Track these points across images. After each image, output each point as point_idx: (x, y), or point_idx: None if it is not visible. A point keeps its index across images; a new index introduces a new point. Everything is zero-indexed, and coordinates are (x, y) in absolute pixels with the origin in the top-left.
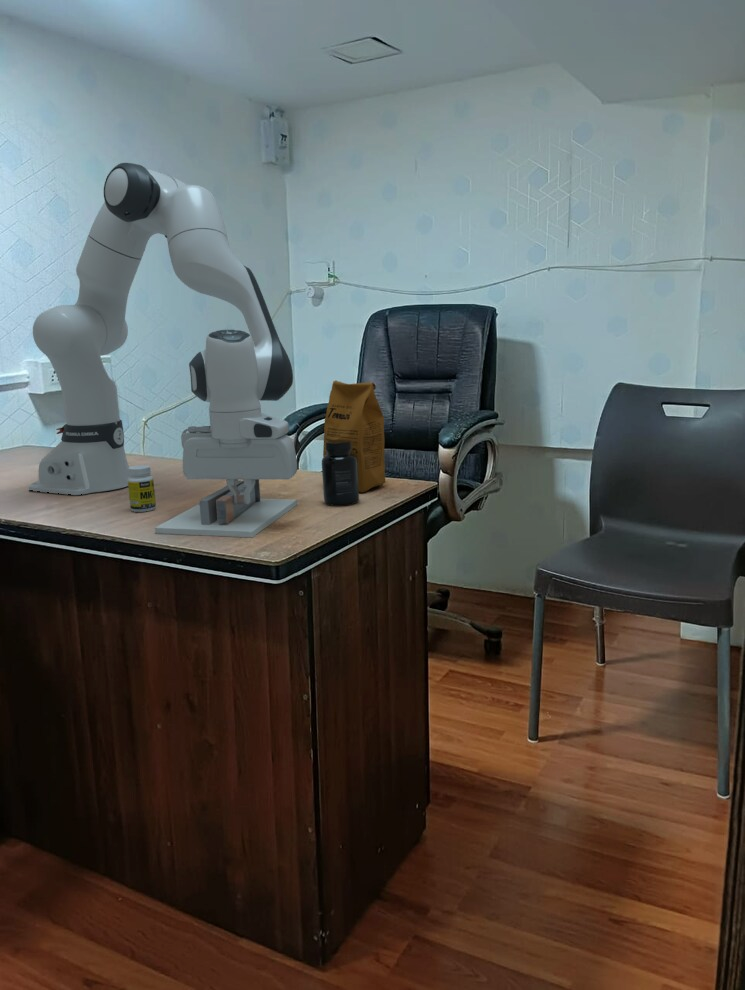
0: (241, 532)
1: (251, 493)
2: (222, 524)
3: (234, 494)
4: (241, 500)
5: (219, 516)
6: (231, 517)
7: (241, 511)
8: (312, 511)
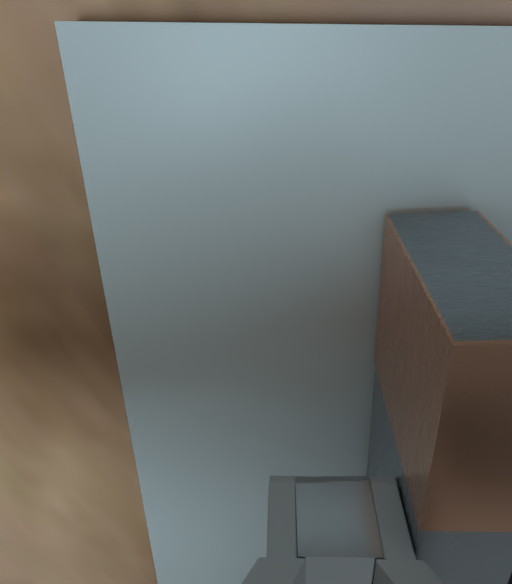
0: (170, 24)
1: None
2: None
3: (406, 560)
4: (324, 498)
5: (479, 239)
6: (381, 326)
7: None
8: (46, 552)
